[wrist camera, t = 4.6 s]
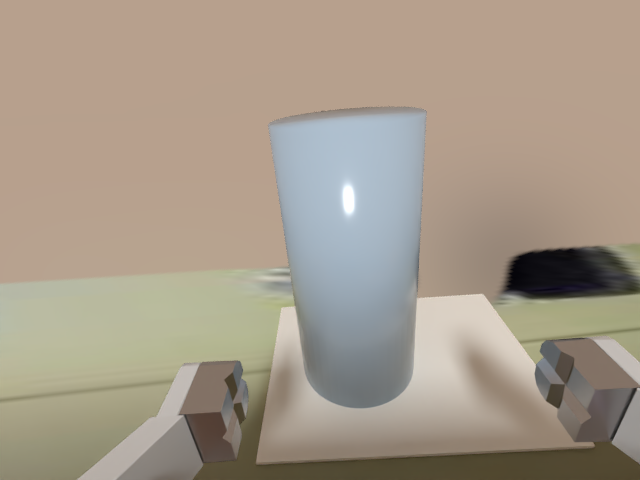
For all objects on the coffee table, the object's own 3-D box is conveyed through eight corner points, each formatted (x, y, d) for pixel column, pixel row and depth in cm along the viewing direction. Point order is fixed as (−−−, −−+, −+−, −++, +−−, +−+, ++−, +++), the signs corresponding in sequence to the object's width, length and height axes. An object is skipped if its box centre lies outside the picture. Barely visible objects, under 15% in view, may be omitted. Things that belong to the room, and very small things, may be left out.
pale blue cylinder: (301, 411, 15) (255, 136, 10) (306, 327, 20) (277, 115, 15) (427, 404, 15) (450, 118, 10) (400, 321, 20) (405, 103, 15)
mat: (257, 469, 13) (255, 462, 13) (282, 313, 22) (281, 307, 22) (591, 453, 13) (595, 445, 13) (481, 300, 22) (483, 293, 21)
